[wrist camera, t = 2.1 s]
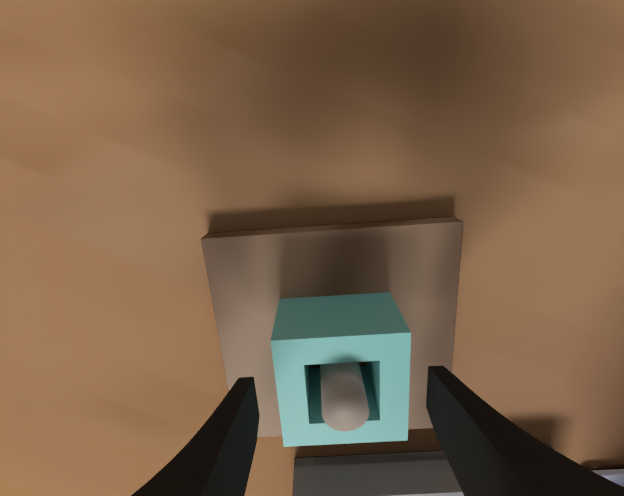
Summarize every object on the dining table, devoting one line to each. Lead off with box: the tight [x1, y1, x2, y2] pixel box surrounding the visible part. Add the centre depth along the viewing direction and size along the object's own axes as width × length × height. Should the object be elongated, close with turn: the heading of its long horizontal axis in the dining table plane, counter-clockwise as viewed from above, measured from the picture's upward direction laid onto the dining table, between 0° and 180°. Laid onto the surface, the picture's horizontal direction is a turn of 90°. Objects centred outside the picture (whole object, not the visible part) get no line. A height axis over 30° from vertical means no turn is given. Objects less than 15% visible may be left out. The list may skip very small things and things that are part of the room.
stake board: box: [201, 217, 463, 437], centre depth 15 cm, size 12×12×6 cm
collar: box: [270, 292, 411, 447], centre depth 15 cm, size 5×5×4 cm
